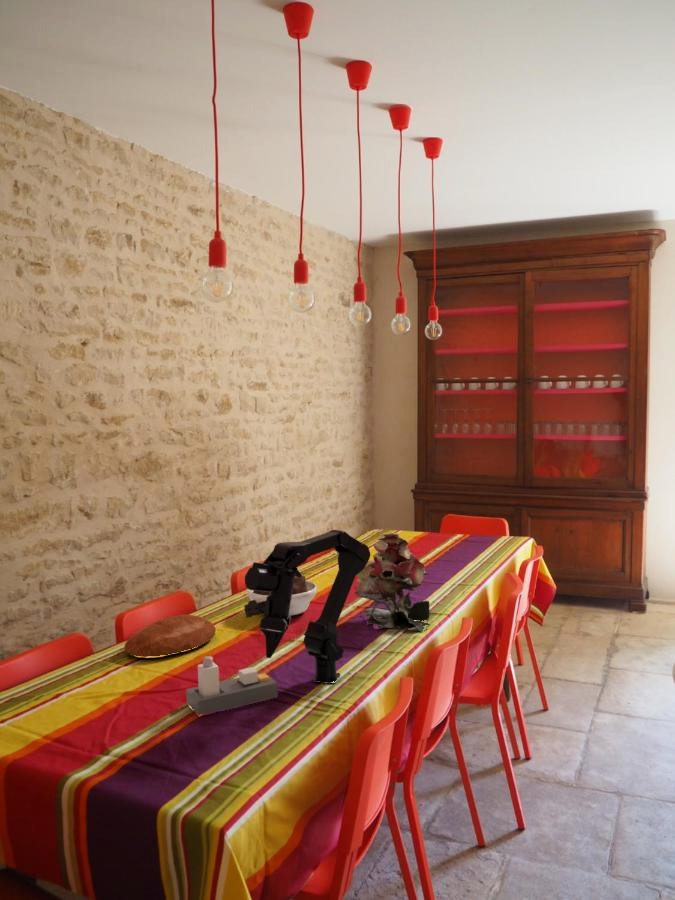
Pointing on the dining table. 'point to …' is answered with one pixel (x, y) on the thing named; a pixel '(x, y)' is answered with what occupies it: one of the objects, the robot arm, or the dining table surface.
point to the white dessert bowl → (300, 595)
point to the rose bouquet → (393, 584)
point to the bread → (170, 636)
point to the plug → (208, 678)
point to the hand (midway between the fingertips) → (270, 655)
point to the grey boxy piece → (234, 692)
